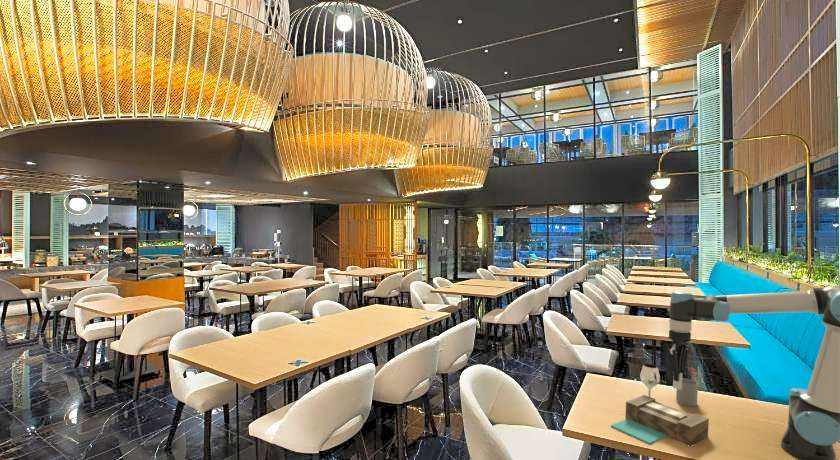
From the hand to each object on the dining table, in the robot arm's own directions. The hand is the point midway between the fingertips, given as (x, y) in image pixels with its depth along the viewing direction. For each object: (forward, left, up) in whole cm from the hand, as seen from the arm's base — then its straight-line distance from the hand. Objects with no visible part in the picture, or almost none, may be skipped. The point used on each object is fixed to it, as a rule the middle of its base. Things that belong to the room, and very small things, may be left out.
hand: (677, 388), depth 173 cm
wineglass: (+20, -17, -18) cm, 32 cm away
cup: (+12, -35, -18) cm, 41 cm away
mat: (+8, +13, -18) cm, 24 cm away
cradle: (+4, 0, -18) cm, 18 cm away
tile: (+4, 0, -13) cm, 14 cm away
